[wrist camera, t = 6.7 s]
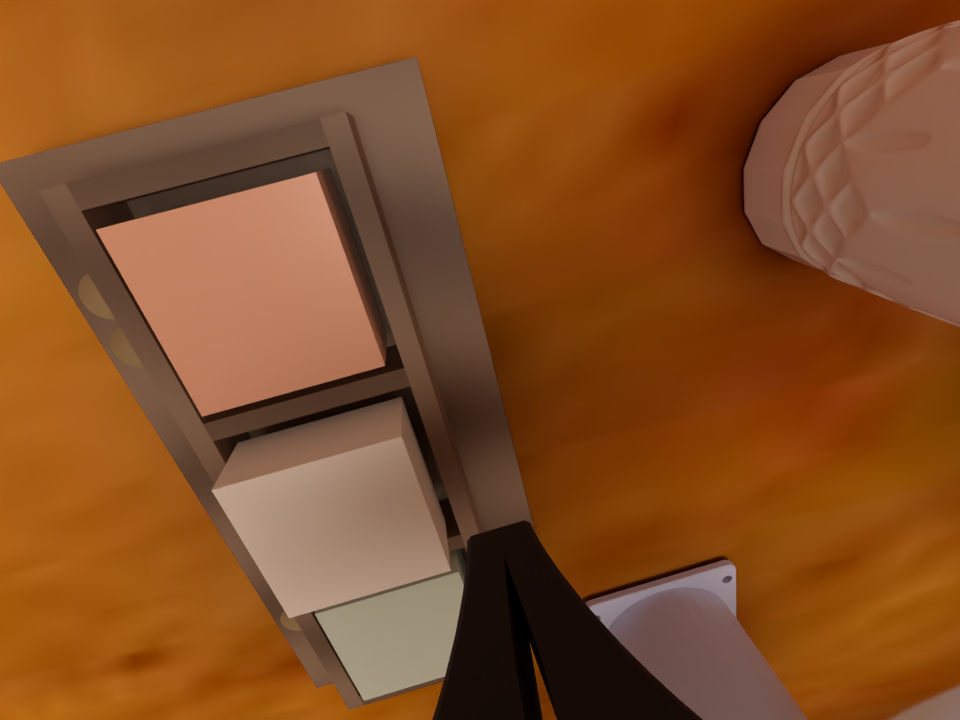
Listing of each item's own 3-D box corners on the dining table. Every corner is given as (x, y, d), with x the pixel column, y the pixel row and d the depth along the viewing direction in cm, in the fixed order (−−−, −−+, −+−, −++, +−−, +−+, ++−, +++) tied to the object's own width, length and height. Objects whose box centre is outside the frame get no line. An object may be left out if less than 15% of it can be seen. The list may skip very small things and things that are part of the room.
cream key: (444, 519, 17) (450, 570, 15) (302, 561, 16) (289, 618, 14) (401, 396, 15) (401, 436, 13) (238, 442, 14) (211, 490, 12)
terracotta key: (387, 336, 15) (385, 365, 13) (229, 380, 15) (202, 416, 13) (329, 167, 13) (316, 172, 11) (143, 216, 13) (95, 229, 11)
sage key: (482, 612, 21) (490, 662, 19) (367, 646, 20) (364, 701, 18) (452, 525, 18) (458, 571, 16) (324, 563, 18) (314, 614, 16)
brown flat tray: (543, 579, 24) (569, 658, 20) (323, 645, 23) (309, 737, 20) (414, 68, 14) (419, 41, 11) (43, 163, 14) (-84, 169, 10)
